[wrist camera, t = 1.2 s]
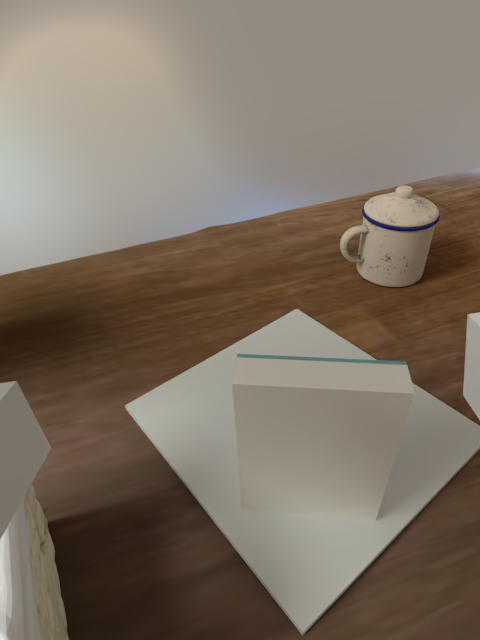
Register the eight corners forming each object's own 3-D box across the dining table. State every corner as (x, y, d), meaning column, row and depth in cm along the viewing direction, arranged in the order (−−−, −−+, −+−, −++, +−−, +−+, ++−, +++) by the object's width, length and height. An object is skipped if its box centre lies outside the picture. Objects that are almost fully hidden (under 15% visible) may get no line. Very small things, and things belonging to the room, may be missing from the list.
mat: (126, 409, 43) (125, 405, 42) (296, 312, 54) (296, 308, 53) (302, 635, 28) (303, 632, 27) (490, 438, 39) (492, 433, 38)
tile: (375, 520, 33) (414, 393, 24) (241, 509, 34) (232, 383, 25) (371, 489, 35) (406, 361, 26) (245, 479, 36) (237, 353, 27)
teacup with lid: (402, 249, 64) (419, 170, 57) (437, 283, 57) (462, 197, 50) (324, 262, 62) (331, 181, 55) (351, 298, 55) (363, 212, 48)
